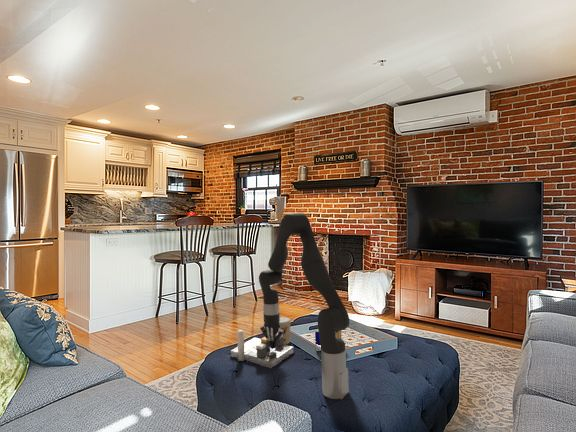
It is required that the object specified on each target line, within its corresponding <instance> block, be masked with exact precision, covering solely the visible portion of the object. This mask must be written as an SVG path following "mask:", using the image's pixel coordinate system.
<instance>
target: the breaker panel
mask: <svg viewBox="0 0 576 432" xmlns="http://www.w3.org/2000/svg"><path fill="white" fill-rule="evenodd" d="M260 343H261V338H258V337H253V338H251V339H250V340H248V341H244V351H245V354H244V358H245V360H247V361H246V362H248V361H251V362H254V363H253V364H255V363H257V364H256V365H258V364H260V365H259V366H262V367H264V368H269V369H273V368H274V367H276V366H277V365H278V364H280V363H281V362H282V360H283V361H284V360H285V359H287V358H288V357H290V356H291V355H294V346H291V345H289V344H286V345H285V344H283V345H281V346H280V347H279V346H276V347H275V348H274V349H272V348H270V349H268V350H267V351H266V356H264V357H263V358H260V357H257V348H256V345H258V344H260ZM289 355H290V356H289ZM230 357H231V358H234V357H236V358H235V359H238V346H237V347H234V348H233V349H231V350H230ZM286 357H287V358H286ZM251 362H250V363H251ZM272 367H273V368H272Z"/></svg>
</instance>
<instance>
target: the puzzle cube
mask: <svg viewBox="0 0 576 432" xmlns="http://www.w3.org/2000/svg"><path fill="white" fill-rule="evenodd" d="M314 333H315V336H314V337H315V338H314V339H315V345H316V344H318V345H321V344H320V341H319V332H318V329H317V330H316V331H315V332H314ZM335 336H336V338H339V339H342V330H341V331H338V332H335ZM342 340H343V339H342Z"/></svg>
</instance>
